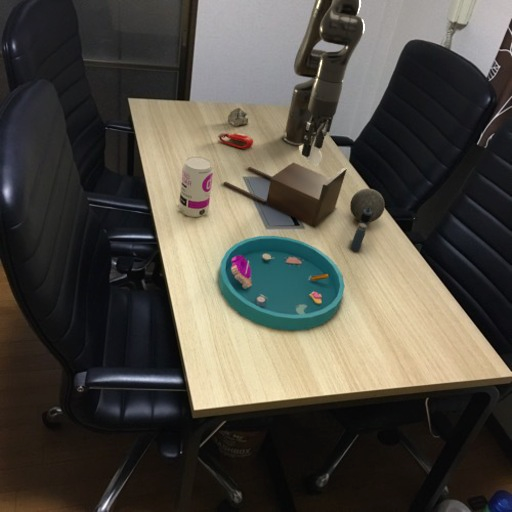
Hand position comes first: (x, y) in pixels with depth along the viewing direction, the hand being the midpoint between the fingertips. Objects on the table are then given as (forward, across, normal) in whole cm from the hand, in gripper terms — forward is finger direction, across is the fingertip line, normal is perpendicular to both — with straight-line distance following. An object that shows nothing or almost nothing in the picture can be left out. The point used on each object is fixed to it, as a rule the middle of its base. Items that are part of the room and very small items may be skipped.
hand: (311, 151), depth 144 cm
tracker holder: (+18, +20, +37) cm, 46 cm away
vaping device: (+18, -7, -22) cm, 30 cm away
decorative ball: (+18, +8, -18) cm, 27 cm away
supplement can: (+18, -25, +21) cm, 37 cm away
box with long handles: (+18, 0, +7) cm, 19 cm away
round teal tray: (+18, -36, -14) cm, 43 cm away
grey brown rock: (+18, +34, +45) cm, 59 cm away
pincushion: (+2, 0, 0) cm, 2 cm away
